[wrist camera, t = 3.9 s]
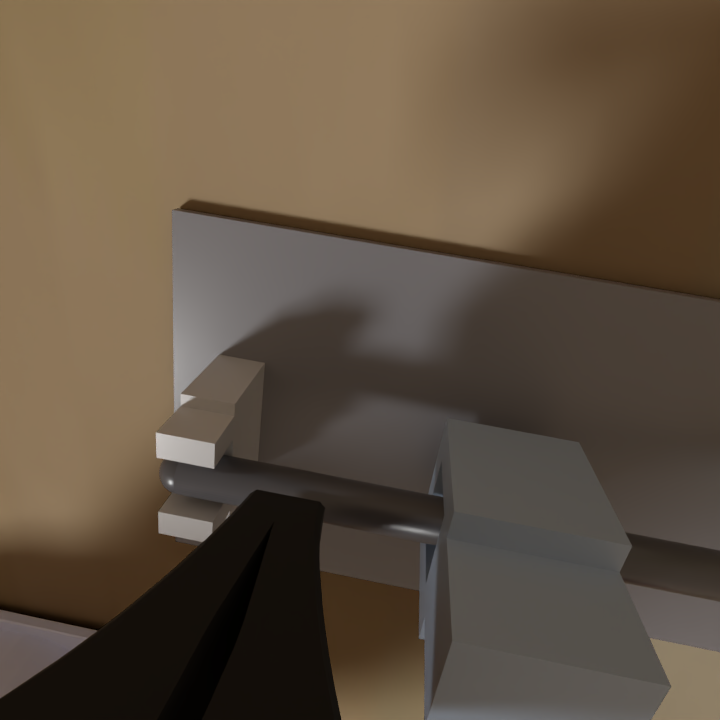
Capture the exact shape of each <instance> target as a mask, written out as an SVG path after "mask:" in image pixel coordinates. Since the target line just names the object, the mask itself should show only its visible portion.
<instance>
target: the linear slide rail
mask: <svg viewBox="0 0 720 720" xmlns="http://www.w3.org/2000/svg"><path fill="white" fill-rule="evenodd" d="M172 248H173V344H174V414H173V415H172V416H171V417H170V418H169V419H168V420H167V421H166V422H165V423H164V424H163V425H162V427H161V428H160V429H159V430H158V431H157V432H156V455H157V458H161V459H164V460H163V461H162V463H161V465H160V470H159V475H160V480H161V482H162V484H163V486H164V487H165V488H166V489H167V490H169V491H170V492H172V493H171V495H170V496H169V497H168V499H167V500H166V502H165V503H164V504H163V506H162V507H161V508H160V510H159V511H158V526H159V533H160V534H165V535H170V536H175V537H176V542H181V543H186V544H191V545H196V546H199V545H200V544H201V543H202V542H203V541H204V540H205V539H207V538H208V537H209V536H210V535H211V534H212V533H213V532H214V531H215V530H216V529H217V528H218V527H219V526H220V525H221V524H222V523H223V522H224V521H225V520H226V519H227V518H228V517H229V516H230V515H231V514H232V513H233V512H234V511H235V509H236V508H237V507H238V506H239V505H240V504H241V503H242V502H243V501H244V500H245V499H246V498H247V497H248V495H249V494H250V493H252V492H253V491H255V490H257V489H258V490H263V491H268V492H273V493H278V494H283V495H289V496H294V497H299V498H304V499H309V500H314V501H319V502H321V503H322V505H323V506H324V507H325V511H324V518H323V526H322V533H321V540H320V571H324V572H329V573H334V574H339V575H343V576H348V577H353V578H358V579H363V580H368V581H373V582H378V583H383V584H388V585H393V586H398V587H402V588H407V589H412V590H417V591H419V584H420V543H426V544H431V545H436V544H437V541H438V537H439V533H440V529H441V526H442V522H443V518H444V501H443V497H440V496H435V495H430V494H428V493H429V488H430V484H431V480H432V476H433V472H434V468H435V464H436V460H437V456H438V452H439V448H440V444H441V440H442V436H443V432H444V428H445V424H446V420H447V418H450V419H456V420H461V421H467V422H472V423H477V424H483V425H488V426H494V427H499V428H504V429H510V430H515V431H521V432H526V433H531V434H537V435H542V436H548V437H553V438H558V439H564V440H569V441H575V442H579V443H580V445H581V447H582V449H583V451H584V453H585V455H586V457H587V459H588V461H589V463H590V465H591V467H592V469H593V470H594V472H595V474H596V476H597V478H598V480H599V482H600V484H601V486H602V488H603V490H604V492H605V494H606V496H607V498H608V500H609V502H610V504H611V506H612V508H613V510H614V511H615V513H616V515H617V517H618V519H619V521H620V523H621V525H622V527H623V529H624V531H625V533H626V535H627V537H628V539H629V541H630V543H631V545H632V548H631V550H630V552H629V554H628V556H627V558H626V560H625V562H624V564H623V566H622V568H621V570H620V574H621V576H622V579H623V581H624V583H625V585H626V588H627V590H628V592H629V594H630V596H631V599H632V601H633V603H634V605H635V607H636V610H637V612H638V614H639V616H640V619H641V621H642V623H643V625H644V627H645V630H646V632H647V634H648V636H649V638H653V639H658V640H663V641H668V642H673V643H678V644H683V645H688V646H693V647H697V648H702V649H707V650H712V651H717V652H720V299H715V298H709V297H703V296H697V295H691V294H685V293H679V292H673V291H667V290H661V289H655V288H649V287H644V286H638V285H632V284H626V283H620V282H614V281H608V280H602V279H596V278H590V277H584V276H578V275H572V274H566V273H560V272H554V271H548V270H542V269H536V268H530V267H524V266H518V265H512V264H507V263H501V262H495V261H489V260H483V259H477V258H471V257H465V256H459V255H453V254H447V253H441V252H435V251H429V250H423V249H417V248H411V247H405V246H399V245H393V244H387V243H381V242H375V241H370V240H364V239H358V238H352V237H346V236H340V235H334V234H328V233H322V232H316V231H310V230H304V229H298V228H292V227H286V226H280V225H274V224H268V223H262V222H256V221H250V220H244V219H239V218H233V217H227V216H221V215H215V214H209V213H203V212H197V211H191V210H185V209H179V208H177V209H174V210H172Z"/></svg>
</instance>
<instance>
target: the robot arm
mask: <svg viewBox="0 0 720 720" xmlns="http://www.w3.org/2000/svg"><path fill="white" fill-rule="evenodd" d="M324 511H325V507H324V506H323V505H322V503H321V502H319V501H314V500H309V499H304V498H299V497H294V496H289V495H283V494H278V493H273V492H268V491H263V490H258V489H257V490H255V491H253V492H252V493H250V494H249V495H248V497H247V498H246V499H245V500H244V501H243V502H242V503H241V504H240V505H239V506H238V507H237V508H236V509H235V511H234V512H233V513H232V514H231V515H230V516H229V517H228V518H227V519H226V520H225V521H224V522H223V523H222V524H221V525H220V526H219V527H218V528H217V529H216V530H215V531H214V532H213V533H212V534H211V535H210V536H209V537H208V538H207V539H205V540H204V541H203V542H202V543H201V544H200V545H199V546H198V547H197V548H196V549H195V550H194V551H193V552H191V553H190V554H189V555H188V556H187V557H186V558H185V559H184V560H183V561H182V562H181V563H180V564H178V565H177V566H176V567H175V568H174V569H173V570H172V571H171V572H169V573H168V574H167V575H166V576H165V577H164V578H162V579H161V580H160V581H159V582H158V583H156V584H155V585H154V586H153V587H152V588H150V589H149V590H148V591H147V592H146V593H144V594H143V595H142V596H141V597H140V598H139V599H137V600H136V601H135V602H134V603H133V604H131V605H130V606H129V607H128V608H126V609H125V610H124V611H123V612H121V613H120V614H119V615H118V616H116V617H115V618H114V619H112V620H111V621H110V622H109V623H107V624H106V625H105V626H103V627H102V628H101V629H99V630H98V631H97V630H93V629H88V628H83V627H79V626H74V625H69V624H65V623H60V622H55V621H51V620H46V619H41V618H37V617H32V616H28V615H23V614H18V613H14V612H9V611H4V610H0V720H341V716H340V711H339V706H338V701H337V696H336V692H335V686H334V681H333V676H332V670H331V664H330V658H329V652H328V645H327V638H326V631H325V623H324V615H323V606H322V593H321V580H320V540H321V533H322V526H323V518H324Z"/></svg>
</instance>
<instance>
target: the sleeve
mask: <svg viewBox="0 0 720 720" xmlns="http://www.w3.org/2000/svg"><path fill="white" fill-rule="evenodd" d="M428 494H430V495H435V496H440V497H443V501H444V518H443V522H442V526H441V529H440V533H439V537H438V541H437V544H436V545H431V544H426V543H420V584H419V639H423V640H425V693H424V720H651V719H652V717H653V715H654V714H655V712H656V711H657V709H658V707H659V706H660V704H661V703H662V701H663V699H664V698H665V696H666V694H667V693H668V691H669V690H670V688H671V685H670V683H669V681H668V678H667V676H666V674H665V672H664V669H663V667H662V665H661V663H660V661H659V658H658V656H657V654H656V652H655V650H654V647H653V645H652V643H651V641H650V638H649V636H648V634H647V632H646V630H645V627H644V625H643V623H642V621H641V619H640V616H639V614H638V612H637V610H636V607H635V605H634V603H633V601H632V599H631V596H630V594H629V592H628V590H627V588H626V585H625V583H624V581H623V579H622V576H621V574H620V570H621V568H622V566H623V564H624V562H625V560H626V558H627V556H628V554H629V552H630V550H631V548H632V545H631V543H630V541H629V539H628V537H627V535H626V533H625V531H624V529H623V527H622V525H621V523H620V521H619V519H618V517H617V515H616V513H615V511H614V510H613V508H612V506H611V504H610V502H609V500H608V498H607V496H606V494H605V492H604V490H603V488H602V486H601V484H600V482H599V480H598V478H597V476H596V474H595V472H594V470H593V469H592V467H591V465H590V463H589V461H588V459H587V457H586V455H585V453H584V451H583V449H582V447H581V445H580V443H579V442H575V441H569V440H564V439H558V438H553V437H548V436H542V435H537V434H531V433H526V432H521V431H515V430H510V429H504V428H499V427H494V426H488V425H483V424H477V423H472V422H467V421H461V420H456V419H450V418H447V420H446V424H445V428H444V432H443V436H442V440H441V444H440V448H439V452H438V456H437V460H436V464H435V468H434V472H433V476H432V480H431V484H430V488H429V493H428Z"/></svg>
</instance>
